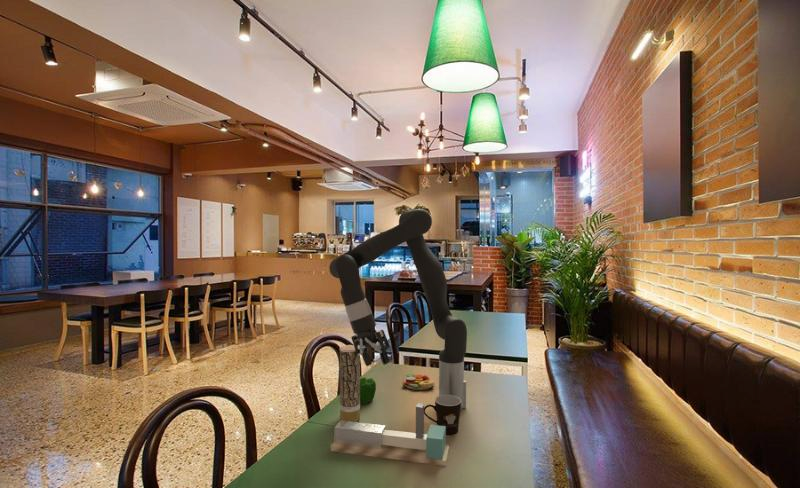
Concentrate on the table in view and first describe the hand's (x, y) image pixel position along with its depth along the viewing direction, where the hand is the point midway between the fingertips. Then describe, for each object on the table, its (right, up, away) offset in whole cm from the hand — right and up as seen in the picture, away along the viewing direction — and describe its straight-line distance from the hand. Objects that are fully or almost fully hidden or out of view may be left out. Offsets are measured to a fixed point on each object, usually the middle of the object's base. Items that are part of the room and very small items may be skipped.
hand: (377, 364), depth 124 cm
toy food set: (+15, -23, +43) cm, 51 cm away
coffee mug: (+21, -23, +4) cm, 32 cm away
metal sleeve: (-5, -22, -6) cm, 23 cm away
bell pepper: (-7, -23, +27) cm, 36 cm away
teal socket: (+17, -22, -11) cm, 30 cm away
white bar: (+8, -21, -9) cm, 24 cm away
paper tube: (-10, -23, +12) cm, 28 cm away
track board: (+4, -23, -8) cm, 25 cm away
